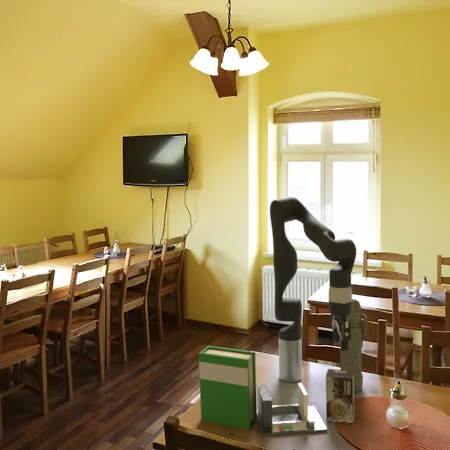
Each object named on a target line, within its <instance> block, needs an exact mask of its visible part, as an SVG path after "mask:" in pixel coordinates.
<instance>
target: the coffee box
mask: <svg viewBox="0 0 450 450" xmlns="http://www.w3.org/2000/svg"><path fill="white" fill-rule="evenodd" d="M325 402H326V403H325V406H326V408H325V409H326V412H325V413H326V414H325V415H326V416H325V417H326V420H325V421H326V422H334V423H337V422H336V421H343V422H350V423H353V422H354V423H355V417H354V415H355V394H354V371H347V370H340V369H335V368H334V369H333V368H327V371H326V375H325ZM354 423H353V424H354Z"/></svg>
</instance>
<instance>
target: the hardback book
mask: <svg viewBox="0 0 450 450" xmlns="http://www.w3.org/2000/svg"><path fill="white" fill-rule="evenodd" d="M198 363H199V364H198V365H199V367H198V369H199V370H198V371H199V396H200V421H203V422H204V421H205V422H209V423H213V424H218V425H224V426H227V427H234V428H239V429H243V430H250V429H251V423H252V422H253V421H257V420H258V417H257V413H256V409H257V377H256V375H257V373H256V367H257V366H256V351H253V350H251V351H250V350H245V349H244V350H243V349H238V348H237V349H235V348H228V347H221V346H213V345H207V346H206V347H205V348H204V349H202V350H201V351H199V353H198Z"/></svg>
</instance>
